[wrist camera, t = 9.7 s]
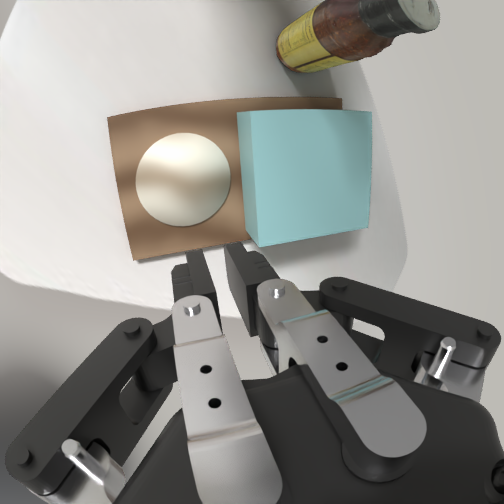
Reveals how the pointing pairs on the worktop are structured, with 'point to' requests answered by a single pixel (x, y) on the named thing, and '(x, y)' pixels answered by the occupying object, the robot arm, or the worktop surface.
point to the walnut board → (186, 172)
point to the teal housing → (304, 172)
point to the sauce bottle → (351, 31)
